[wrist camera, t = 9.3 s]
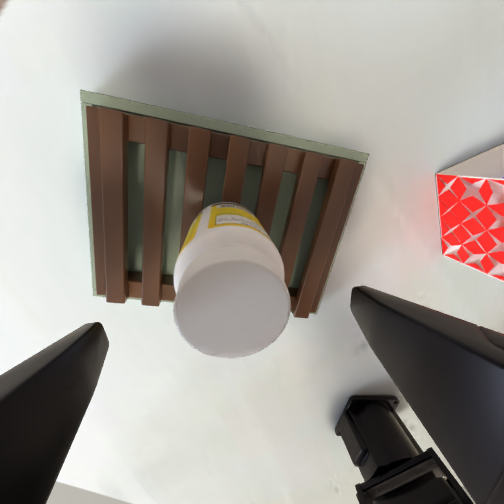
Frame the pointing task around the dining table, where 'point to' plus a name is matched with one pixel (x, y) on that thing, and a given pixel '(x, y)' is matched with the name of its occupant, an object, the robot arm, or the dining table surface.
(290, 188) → the drip tray
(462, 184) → the red and white cube
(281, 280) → the supplement bottle
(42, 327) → the dining table surface
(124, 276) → the drying rack
